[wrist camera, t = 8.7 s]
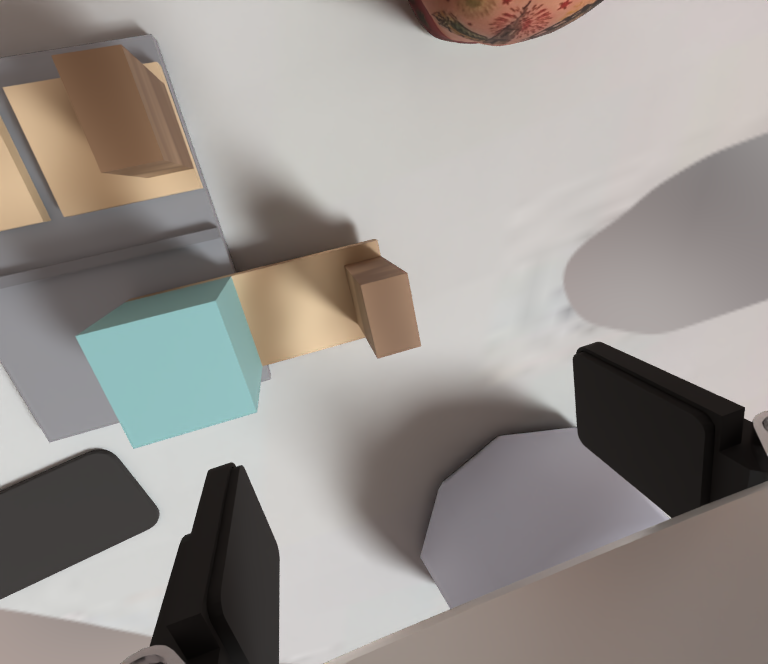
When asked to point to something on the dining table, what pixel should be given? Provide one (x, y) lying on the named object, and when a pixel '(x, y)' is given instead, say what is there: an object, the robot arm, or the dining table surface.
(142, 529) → the phone
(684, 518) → the robot arm
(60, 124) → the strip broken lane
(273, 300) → the strip cube lane
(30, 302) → the lane board
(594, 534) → the light grey vase
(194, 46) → the dining table surface
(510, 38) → the decorative planter
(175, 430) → the cube
